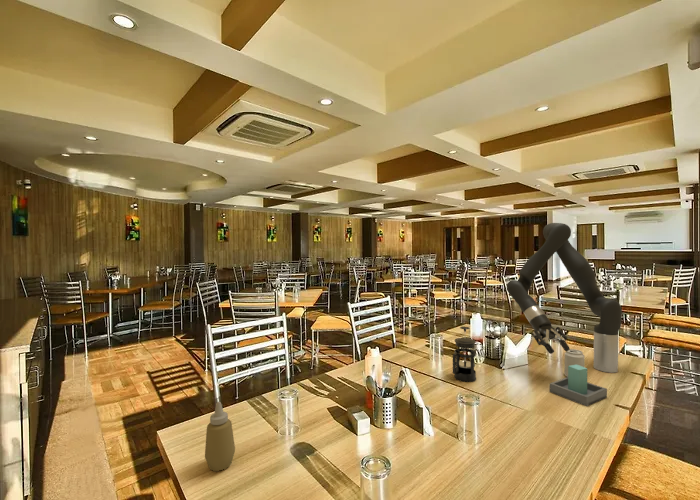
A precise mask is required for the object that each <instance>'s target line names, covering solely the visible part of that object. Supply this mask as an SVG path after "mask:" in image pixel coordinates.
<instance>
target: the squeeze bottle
mask: <svg viewBox="0 0 700 500" xmlns="http://www.w3.org/2000/svg"><path fill="white" fill-rule="evenodd" d="M223 409H224V408H223V404H222V403H221V401H217V402H216V403H215V409H214V413H212V414H211V415H210V416H209V417H210V418H209V419H210V420H209V423H208V424H207V426H206V435H205V448H204V449H205V450H204V459H205V462H206V463H207V465H208V468H209V469H210V471H212V470H213V471H212V472H220V471H219V470H222V471H224V470H227V469H228V468H229V467H230V466H231V464H232V462H233V459H234V456H235V451H236V444H235V439H234V438H235V437H234V431H233V425H232V424H233V423H232V421H231V420H230V418H228V417H229V415H228V414H229V413H228V411H227V412H226V411H224V410H223ZM227 467H228V468H227ZM223 469H224V470H223Z"/></svg>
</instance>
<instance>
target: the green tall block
mask: <svg viewBox="0 0 700 500" xmlns="http://www.w3.org/2000/svg"><path fill="white" fill-rule="evenodd" d="M587 382H588V368H587V367H585V366H584V367H582V366H579V365H571V366H568V389H569V390H572V391H575V392H577V393H580V394H587Z"/></svg>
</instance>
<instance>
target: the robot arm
mask: <svg viewBox="0 0 700 500" xmlns="http://www.w3.org/2000/svg"><path fill="white" fill-rule="evenodd" d="M542 234H543V238H544V239H545V241H544V243H543V244H542V246H540V248H539V249H538V250H537V251H535V252H534V253H533V254H532V255H531V256H530V257H529V258H527V260H526V262H524V265H522V267H521V269H520V270H519V271H518V276H519V277H518V279H512V280H509V281H508V282H507V284H506V290H507V293H508V294H509V295H510V296H511V298H512V299H513V300H514V301H515V303H516V304H517V305H518V307H519V308H520V310H521V311H522V313H523V314H524V316H525V318H526V319H527V321H528V322H529V325H530V326H531V327H532V329H533V332H531V335H532V336H533V338H534V340H535V341H536V342H537V343H536V344H537V345H538V346H543V347H544V348H545V350H546V352H547V353H548V354H553V353H554V352H555V349H554V348H553V347H552V345H551V344H550V343H549V340H553V341H554V342H555V341H556V342H557V343H559V344H560V345H559V346H561V347H562V349H563V350H564V351H565V352H566V351H568V350H569V349H571V348H570V346H569V345H568V343H567V342H566V341H567V340H568V337H567V335H566V334H565V333H564V331H563V330H562V329H561V328H560V327H559V326H557V327H555V328H554V326H552V321H551V320H550V319H549V318H548V316H547V315H546V313H545V312H544V311H543V309H542V308H541V307H540V305H538V303H537V302H536V300H535V299H534V298H533V297H532V296H531V295H530V294H529V290H530V288H531V287H532V284H533V281H534V279H536V277H537V275H538V274H539V273H540V271H541V270H542V269H543V268H544V266H545V265H546V264H547V262H548V261H549V260H550V259H551V258H552V256H553V255H555V253H556V254H557V255H558V257H559V260H560V261H561V262H562V264H563V266H564V267H565V269H566V271H567V272H568V274H569V275H570V277H571V278H572V280H573V281H574V283H575V285H576V286H577V287H578V289H579V291H580V292H581V293H582V295H583V298H584V300H585V301H586V303H587V306H588V307H589V309H590V310H591V312H592V313H593V315H595V316H597V317H600V318H599V323H597V324H595V325H594V326H593V369H595V370H597V371H600V372H604V373H612V374H613V373H618V371H619V333H620V329H621V328H622V316H623V315H622V314H623V313H622V312H623V311H622V309H623V308H622V305H621V304H620V303H619V302H618V301H617V300H615V299H610V298H608V297H605V296H604V294H603V293H602V292H601V291H600V289H599V287H598V285H597V277H596V272H595V270H594V269H593V267H592V266H591V264H590V263H589V261H588V260H587V258H585V256H584V255H582V253H580V252H579V251H578V250H577V249H576V248H575V247H574V246H573V245H572V244H571V242H570V241H569V240H570V237H571V236H572V235H571V234H572V229H571V227H570V226H569V225H568V224H566V223H562V222H551V223H548V224H545V226H544V227H543V229H542Z"/></svg>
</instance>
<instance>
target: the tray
mask: <svg viewBox="0 0 700 500" xmlns="http://www.w3.org/2000/svg"><path fill="white" fill-rule="evenodd" d="M549 393H551V394H553V395H554V394H555V395H556V396H559V397H562V398H564V399H567V400H569V401H571V402H575V403H577V404H579V405H582V406H583V407H589V406H592V405H594V404H596V403H598V402H600V401H603V400H605V399H607V398H608V388H606V387H603V386H600V385H597V384H593V383H590V382H588V381H587V394H580V393H577V392H575V391H572V390H569V389H568V377H563V378H561V379H560V378H559V379H557V380H556V381H553V382H550V383H549Z"/></svg>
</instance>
